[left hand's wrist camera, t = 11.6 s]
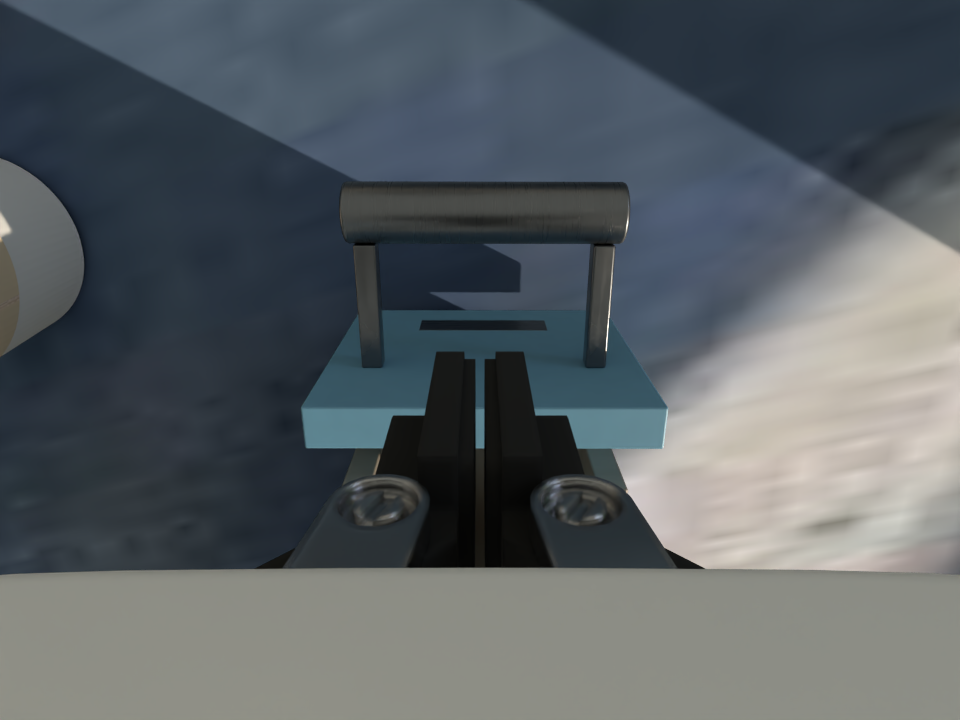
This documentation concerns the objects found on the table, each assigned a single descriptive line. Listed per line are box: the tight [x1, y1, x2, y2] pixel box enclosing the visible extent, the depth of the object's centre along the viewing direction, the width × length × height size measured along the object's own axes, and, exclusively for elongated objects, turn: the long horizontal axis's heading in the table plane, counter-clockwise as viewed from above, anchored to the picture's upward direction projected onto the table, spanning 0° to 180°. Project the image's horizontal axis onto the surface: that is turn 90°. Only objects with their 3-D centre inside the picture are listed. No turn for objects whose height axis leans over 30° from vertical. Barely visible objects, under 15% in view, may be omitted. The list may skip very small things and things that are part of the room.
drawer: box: [301, 182, 668, 568], centre depth 21 cm, size 19×9×8 cm, turn 0°
